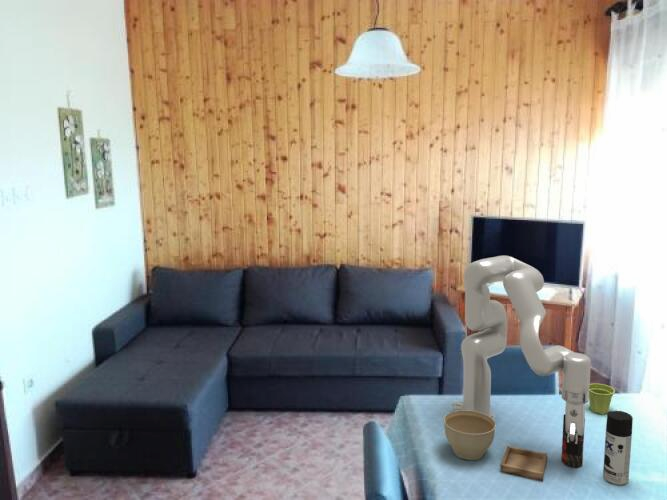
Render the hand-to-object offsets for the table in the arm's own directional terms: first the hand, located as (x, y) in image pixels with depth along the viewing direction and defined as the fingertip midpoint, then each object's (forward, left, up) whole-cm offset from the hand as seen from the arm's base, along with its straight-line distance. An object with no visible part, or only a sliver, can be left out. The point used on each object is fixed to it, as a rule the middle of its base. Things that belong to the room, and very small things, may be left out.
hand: (572, 446), depth 166 cm
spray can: (+12, -4, -6) cm, 14 cm away
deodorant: (0, 0, -6) cm, 6 cm away
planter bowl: (-30, -7, -6) cm, 31 cm away
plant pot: (+7, +41, -6) cm, 42 cm away
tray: (-13, -8, -5) cm, 16 cm away
